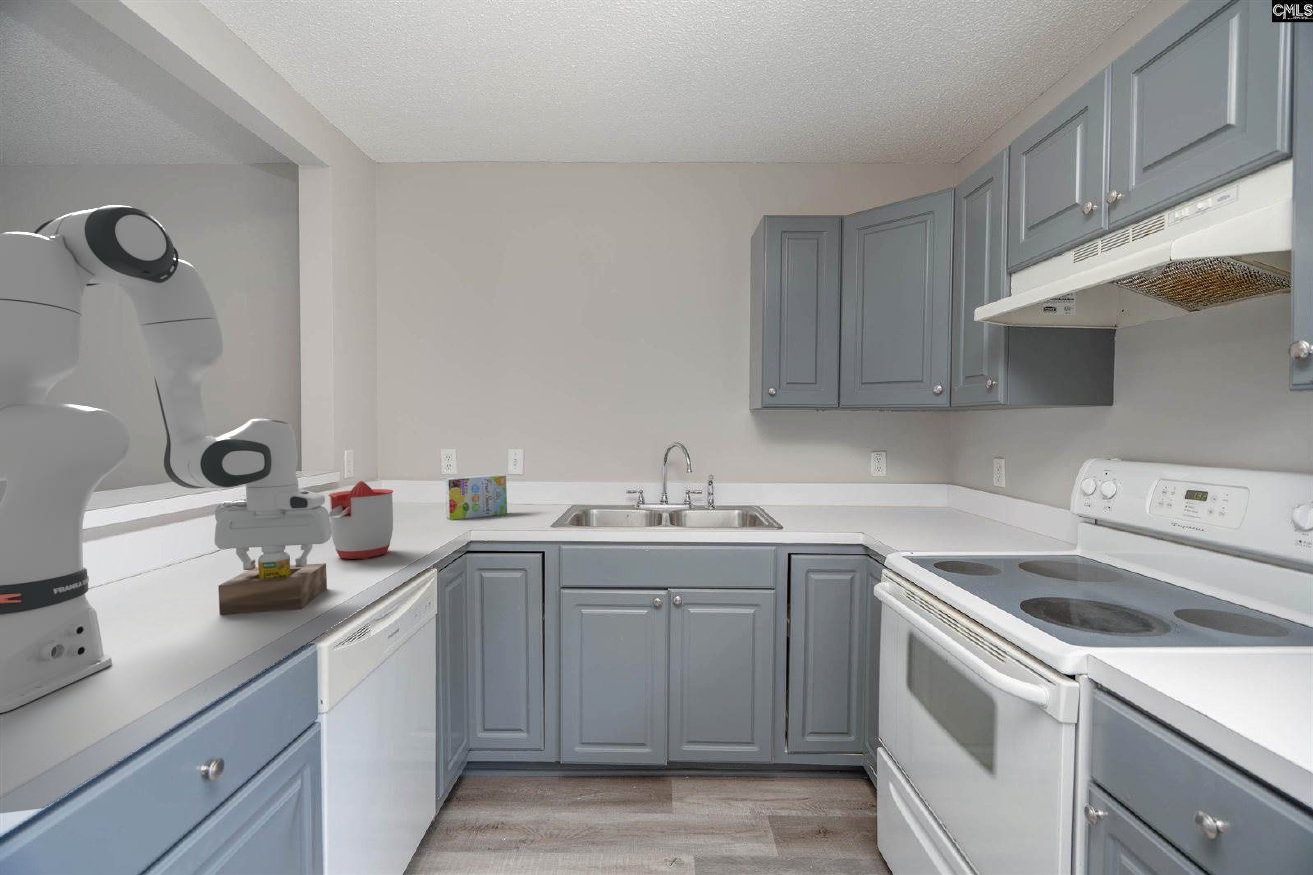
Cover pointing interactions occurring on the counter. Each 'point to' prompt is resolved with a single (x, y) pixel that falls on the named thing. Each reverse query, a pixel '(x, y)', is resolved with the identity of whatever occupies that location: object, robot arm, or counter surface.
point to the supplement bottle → (274, 562)
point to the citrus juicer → (361, 521)
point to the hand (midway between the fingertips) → (275, 568)
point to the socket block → (272, 590)
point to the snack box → (476, 496)
